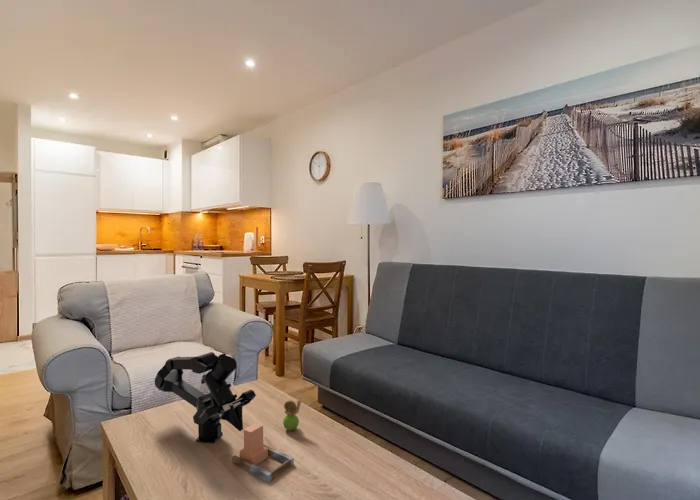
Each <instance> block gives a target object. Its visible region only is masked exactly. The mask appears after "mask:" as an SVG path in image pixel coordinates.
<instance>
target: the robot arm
mask: <svg viewBox="0 0 700 500" xmlns="http://www.w3.org/2000/svg"><path fill="white" fill-rule="evenodd" d="M237 366H238V363H237V361H236V359H235V358H233V357H231V356H230V355H227V354H226V353H225V352H224V353H221V354H219V355H216V354H215V353H214V352H213V351H212V352H211V351H210V352H207V353H204V354H201V355H196V356H175V357H172V358H168V359H167V360H166V361H165V362H164V365H163V366H162V367H161V368H160V370H158V372H157V374H156V376H155V378H154V385H155V388H156V389H158V390H160V391H161V392H164V393H174V394H175V395H176V396H178V397H179V398H181V399H182V400H184V401H185V402H186V403H188V404H190V405H191V406H193V407H194V408H195V409H196V412H195V413H194V415H193V416H192V419H193V423H194V424H196V425H197V426H198V427H197V428H198V437H196V439H195V442H198V443H199V442H200V443H210V444H215V442H216V441H217V440H218V439H219V438H220V437H221V436H222V435H223V431H222V423H221V420H222V421H225V422H228V423H229V424H230V425H232V426H233V427H234V428H235V429H236V430H237V431H239V432H241V431H244V425H243V424H244V422H243V420H244V419H243V407H245V406H247V405H249V404H250V403H251V402H252V401H253V400H254V399H255V397H257V394H256V392H255V391H254V390H252V389H248V390H247V391H244V392H242V393H241V395H240V396H238V395H237V393H235V394H233V391H232V389H231V387H232V385H231V383H228V382H227V381H226V380H227V379H229V377H230V376H231V375H232V373H233V372H235V371H236V369H237ZM184 370H185V371H187V370H189V371H190V370H191V371H192V372H193V373H194V374H198V375H200V374H201V375H202V374H203V373H206V372H207V373H206V374H203V375H202V378H201V381H200V383H201V385H204V384H205V385H206V387H207V388H208V391H209V392H208V393H204V392H202V391H200V390H199V389H197V388H196V387H195V386H193V385H191V384H190V383H188V382H187V381H185V380H183V374H184Z"/></svg>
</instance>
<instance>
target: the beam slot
mask: <svg viewBox="0 0 700 500" xmlns="http://www.w3.org/2000/svg"><path fill="white" fill-rule="evenodd" d="M263 446H264V447H267V448H268V457H270V458H272V459H275V460H277V461H279V462H281V463H282V464H280V465H279V466H277V467H276V468H274V469H273V470H271V471H268V470H266V469H263V468H262V467H260V466H258V465H254V464H252V463H250V462H248V461H246V460H244V459H242V458H240V456H238V455H236V454H234V455H233V456H231V464H232V465H234V466H237V467H238V468H240V469H242V470H244V471H246V472H248V473H249V474H251V475H254V476H255V477H257V478H259V479H261V480H263V481H265V482H267V483H269V482H271V481H272V480H273V479H276V478H277V477H278V476H279V475H280V474H282V473H283V472H284V471H286V470H287V469H289V468H291V467H292V466H293V465H294V463H295V461H294V459H295V458H294V457H292V456H290V455H288V454H286V453H284V452H282V451H280V450H277V449H276V448H273V447H270V446H268V445H266V444H264V443H263Z"/></svg>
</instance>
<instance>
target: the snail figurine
mask: <svg viewBox="0 0 700 500" xmlns="http://www.w3.org/2000/svg"><path fill="white" fill-rule="evenodd" d="M301 400H302V396H299V398H298V400H296V403H297V404H296V403H295V401H293V400H287V401H285V403H284V405H283V407H284V410H283V412H284V413H285V414H286V415H285V417H284V418H283V421H282V424H283V426H284V429H286V430H287V431H294V430H296V429H297V428H298V426H299V424H300V420H299V418H298V416H297V414H298V413H299V411H300V407H301V403H302V401H301Z"/></svg>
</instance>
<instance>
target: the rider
mask: <svg viewBox="0 0 700 500" xmlns="http://www.w3.org/2000/svg"><path fill="white" fill-rule="evenodd" d="M263 444H264V425H262V424H261V423H258V422H255V423H253V424H251V425H250V426H247V427H246V428H243V448H242V449H240V450H239V457H240V458H242V459H244V460H246V461H248V462H250V463H252V464H254V465H256V466H258V465H259V464H260V463H262V462H263V461H265V460H266V459H268V458H269V456H268V448H267V447H264V446H263Z"/></svg>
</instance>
